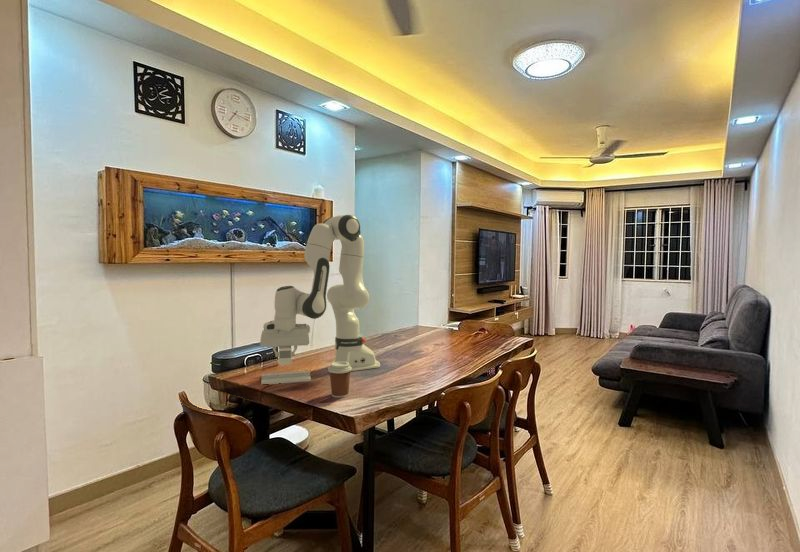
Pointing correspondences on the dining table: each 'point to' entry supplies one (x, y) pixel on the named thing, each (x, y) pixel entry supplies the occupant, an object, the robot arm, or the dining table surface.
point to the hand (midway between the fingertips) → (284, 356)
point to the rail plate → (285, 377)
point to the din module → (285, 355)
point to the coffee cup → (340, 378)
